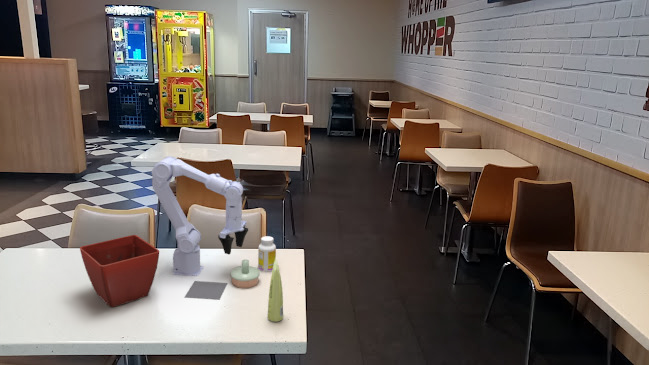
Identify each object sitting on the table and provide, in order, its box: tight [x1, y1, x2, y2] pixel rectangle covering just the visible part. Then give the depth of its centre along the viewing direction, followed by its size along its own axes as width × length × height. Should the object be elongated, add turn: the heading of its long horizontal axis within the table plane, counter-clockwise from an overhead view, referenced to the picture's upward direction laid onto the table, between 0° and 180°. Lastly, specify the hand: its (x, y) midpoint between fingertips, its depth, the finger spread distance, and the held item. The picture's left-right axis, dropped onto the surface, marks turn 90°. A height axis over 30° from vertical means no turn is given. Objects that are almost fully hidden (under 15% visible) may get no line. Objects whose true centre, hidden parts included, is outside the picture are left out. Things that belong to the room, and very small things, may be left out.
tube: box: [267, 256, 284, 323], centre depth 154 cm, size 6×5×20 cm
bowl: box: [231, 276, 260, 289], centre depth 178 cm, size 9×9×4 cm
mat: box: [184, 280, 228, 301], centre depth 171 cm, size 12×12×1 cm
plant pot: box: [79, 234, 160, 308], centre depth 164 cm, size 19×19×17 cm
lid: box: [230, 259, 261, 281], centre depth 176 cm, size 10×10×5 cm
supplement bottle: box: [257, 235, 277, 273], centre depth 188 cm, size 7×7×13 cm
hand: (233, 249), depth 182 cm, fingers open, 7 cm apart
